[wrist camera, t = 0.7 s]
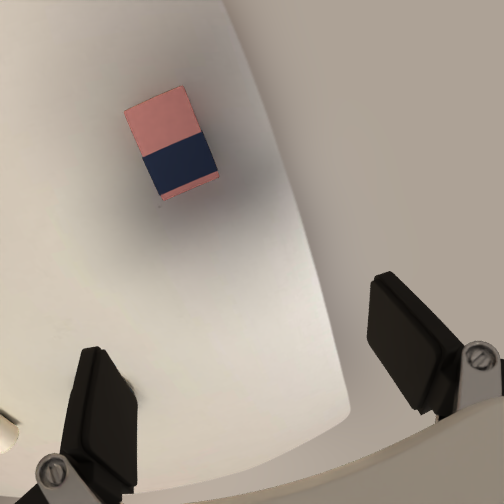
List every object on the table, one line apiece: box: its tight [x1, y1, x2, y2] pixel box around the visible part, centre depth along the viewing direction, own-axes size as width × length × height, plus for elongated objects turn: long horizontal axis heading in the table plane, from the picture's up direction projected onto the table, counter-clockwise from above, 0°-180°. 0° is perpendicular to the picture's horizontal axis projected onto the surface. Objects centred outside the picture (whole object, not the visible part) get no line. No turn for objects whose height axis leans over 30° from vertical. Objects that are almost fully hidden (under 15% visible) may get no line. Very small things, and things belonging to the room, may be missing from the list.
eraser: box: [124, 86, 219, 201], centre depth 20 cm, size 6×4×3 cm, turn 19°
